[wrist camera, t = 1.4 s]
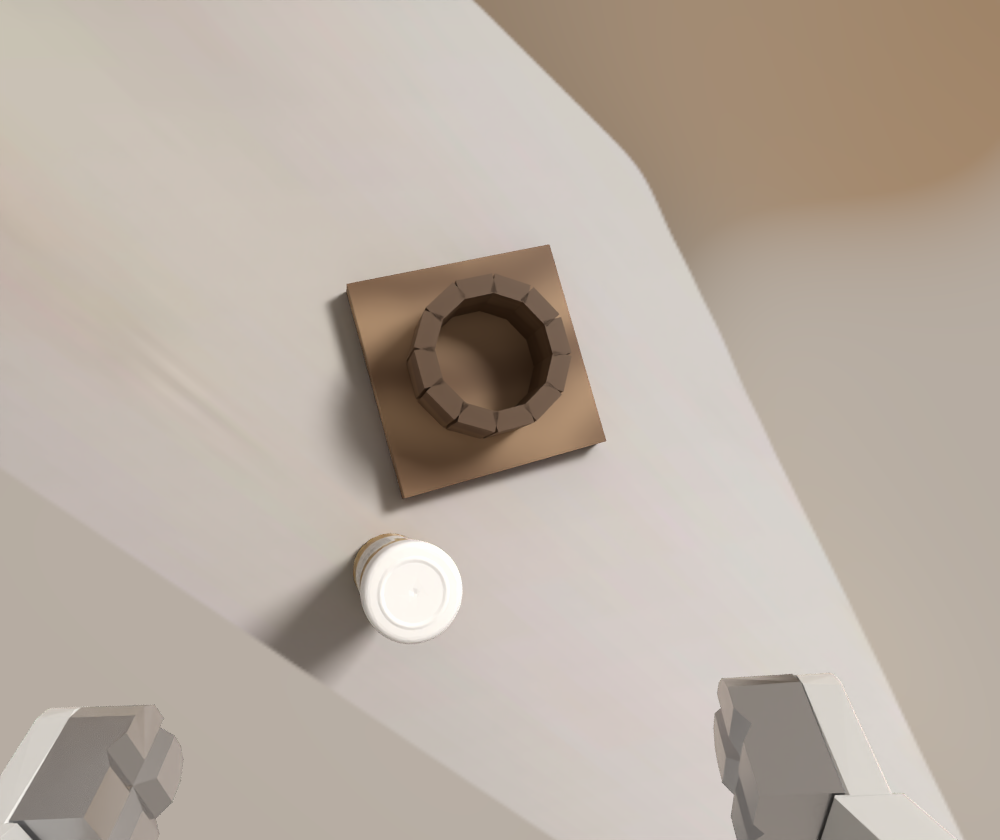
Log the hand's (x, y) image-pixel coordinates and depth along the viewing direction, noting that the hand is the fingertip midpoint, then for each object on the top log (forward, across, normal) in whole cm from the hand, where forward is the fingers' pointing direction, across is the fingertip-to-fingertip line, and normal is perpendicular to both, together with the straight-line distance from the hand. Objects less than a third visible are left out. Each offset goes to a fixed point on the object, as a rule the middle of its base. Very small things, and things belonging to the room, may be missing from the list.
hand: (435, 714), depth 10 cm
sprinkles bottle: (+25, +9, +22) cm, 35 cm away
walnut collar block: (+35, +3, +14) cm, 38 cm away
